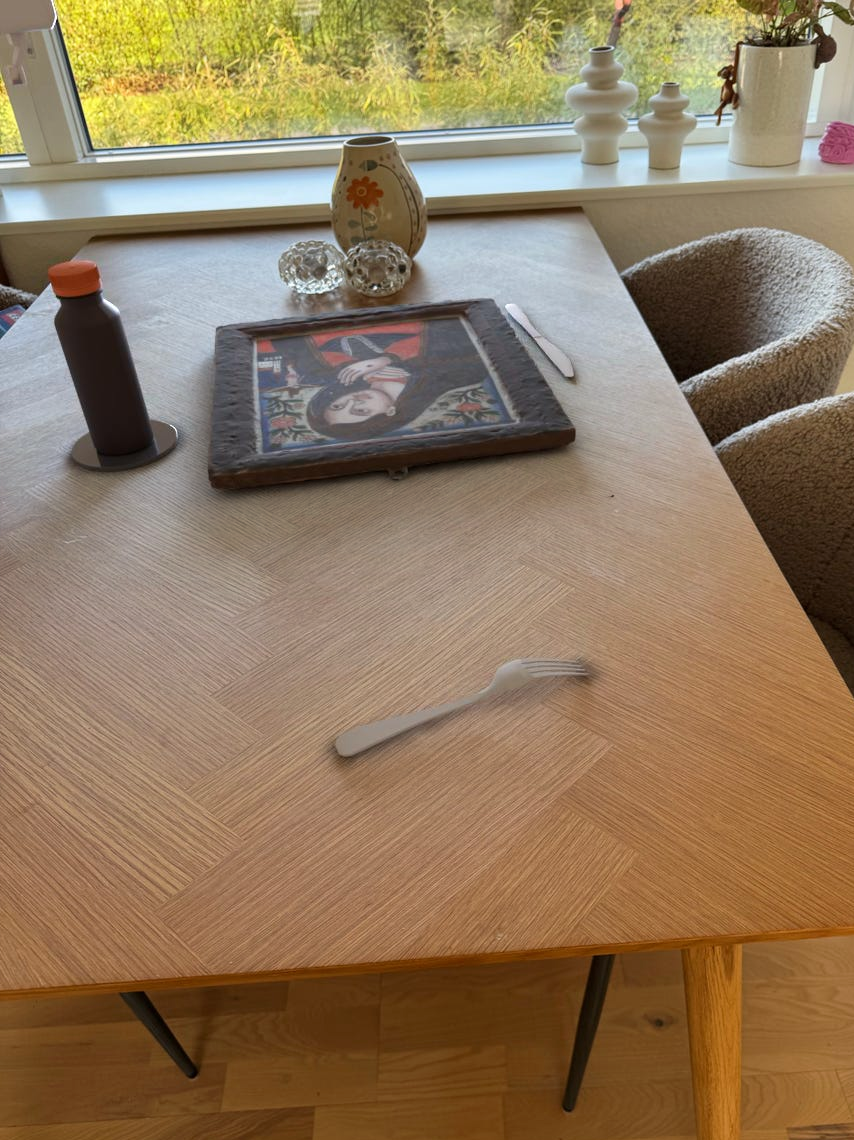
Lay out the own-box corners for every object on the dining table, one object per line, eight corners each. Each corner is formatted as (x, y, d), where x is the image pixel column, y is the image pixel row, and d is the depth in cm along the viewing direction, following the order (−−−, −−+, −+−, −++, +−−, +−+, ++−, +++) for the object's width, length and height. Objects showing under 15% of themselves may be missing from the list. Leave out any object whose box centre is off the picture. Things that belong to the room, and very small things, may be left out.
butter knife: (522, 301, 141) (502, 302, 140) (583, 375, 121) (561, 377, 120) (521, 305, 141) (502, 306, 141) (583, 379, 121) (561, 381, 121)
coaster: (89, 482, 105) (87, 478, 105) (60, 441, 113) (59, 438, 113) (193, 450, 110) (192, 446, 110) (159, 413, 118) (157, 410, 118)
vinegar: (84, 444, 111) (25, 269, 99) (136, 424, 115) (86, 252, 102) (113, 463, 107) (56, 283, 95) (166, 441, 111) (118, 265, 98)
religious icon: (211, 506, 100) (205, 481, 98) (214, 345, 134) (209, 324, 132) (581, 455, 105) (581, 430, 103) (493, 313, 140) (492, 292, 138)
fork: (339, 759, 74) (330, 735, 72) (575, 658, 79) (572, 633, 77) (350, 783, 72) (341, 759, 70) (592, 679, 77) (589, 653, 75)
